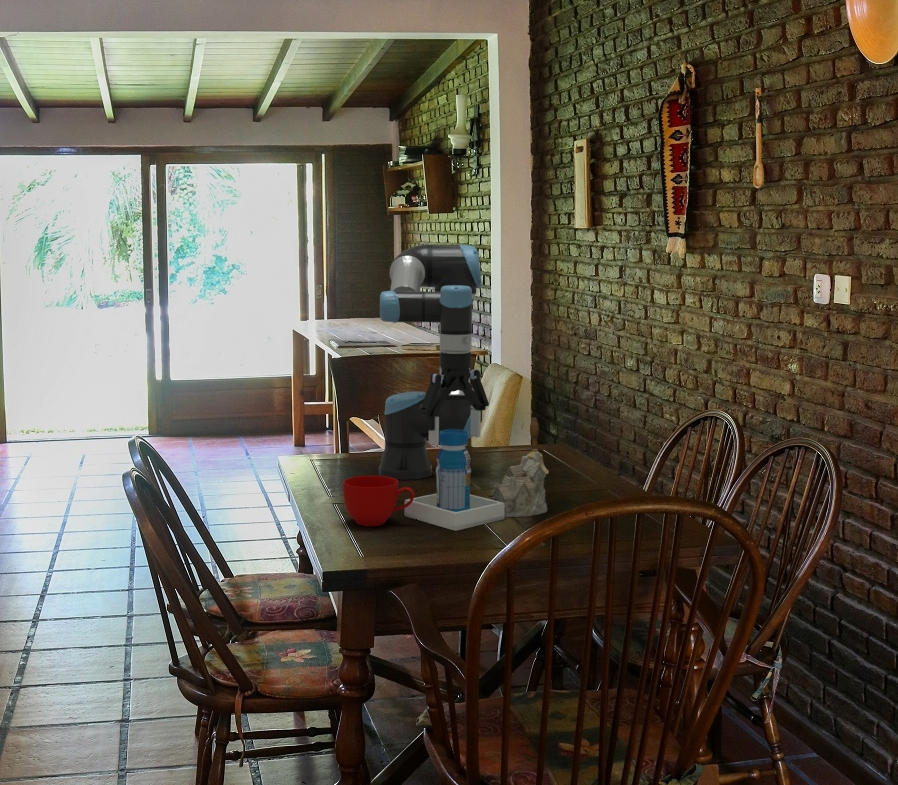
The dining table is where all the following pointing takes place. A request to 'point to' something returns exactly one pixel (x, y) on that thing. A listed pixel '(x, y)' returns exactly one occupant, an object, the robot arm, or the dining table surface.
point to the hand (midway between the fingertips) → (454, 440)
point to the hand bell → (535, 443)
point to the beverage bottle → (453, 471)
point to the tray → (476, 515)
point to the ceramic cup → (372, 498)
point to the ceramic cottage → (523, 489)
